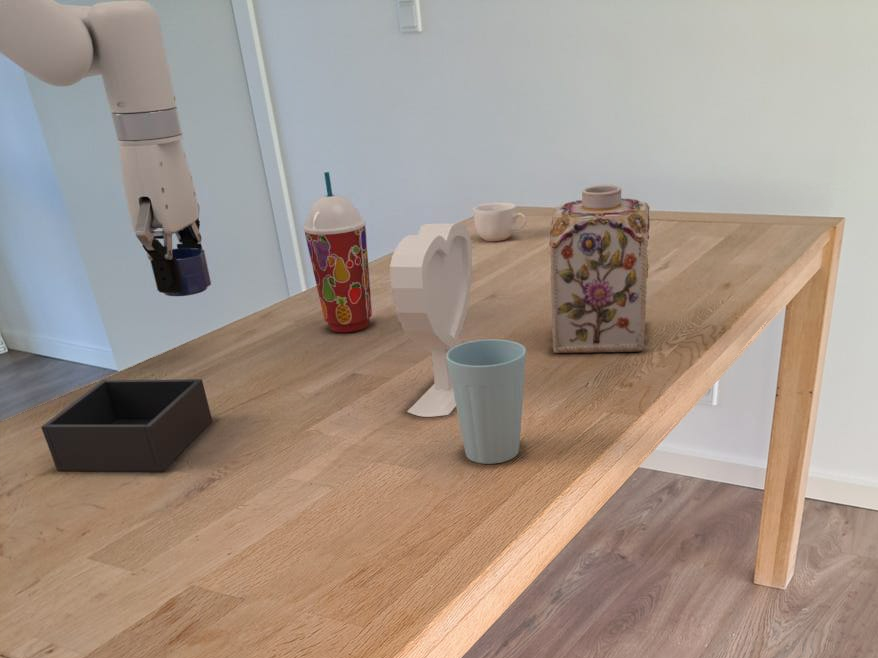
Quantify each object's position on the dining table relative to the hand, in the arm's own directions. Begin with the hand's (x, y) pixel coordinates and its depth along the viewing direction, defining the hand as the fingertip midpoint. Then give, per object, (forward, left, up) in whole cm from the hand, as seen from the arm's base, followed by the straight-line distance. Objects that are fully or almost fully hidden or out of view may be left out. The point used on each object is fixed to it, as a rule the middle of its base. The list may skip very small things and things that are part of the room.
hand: (183, 282), depth 119 cm
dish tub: (+4, -28, -10) cm, 30 cm away
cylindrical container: (0, 0, -1) cm, 1 cm away
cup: (+44, -30, -10) cm, 54 cm away
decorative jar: (+53, +5, -10) cm, 55 cm away
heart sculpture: (+36, -14, -10) cm, 40 cm away
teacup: (+32, +62, -10) cm, 71 cm away
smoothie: (+17, +12, -10) cm, 24 cm away
